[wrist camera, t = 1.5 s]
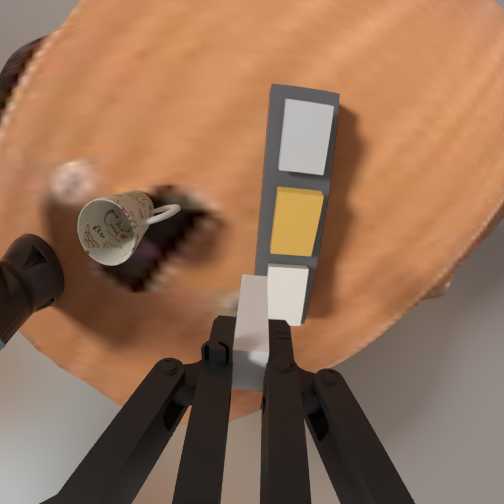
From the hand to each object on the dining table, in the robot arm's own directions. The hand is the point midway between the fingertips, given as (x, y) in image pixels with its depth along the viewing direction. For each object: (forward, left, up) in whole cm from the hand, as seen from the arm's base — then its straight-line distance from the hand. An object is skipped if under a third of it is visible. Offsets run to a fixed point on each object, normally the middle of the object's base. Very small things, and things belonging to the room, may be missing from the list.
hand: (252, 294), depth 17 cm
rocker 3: (+5, -10, -16) cm, 19 cm away
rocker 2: (+5, 0, -16) cm, 17 cm away
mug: (-15, -1, -22) cm, 27 cm away
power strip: (+5, -3, -22) cm, 23 cm away
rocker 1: (+5, +10, -16) cm, 19 cm away
